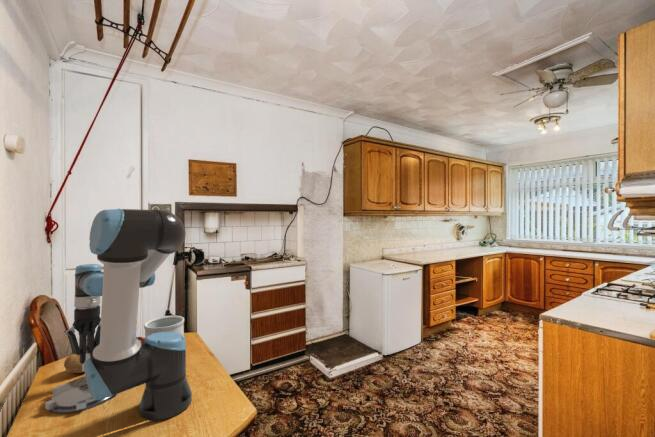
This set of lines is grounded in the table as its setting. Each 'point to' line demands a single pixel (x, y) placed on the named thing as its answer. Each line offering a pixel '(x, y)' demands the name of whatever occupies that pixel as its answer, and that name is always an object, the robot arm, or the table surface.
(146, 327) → the utensil holder
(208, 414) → the table surface
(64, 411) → the base plate
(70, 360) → the potato
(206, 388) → the table surface
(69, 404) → the sprocket
